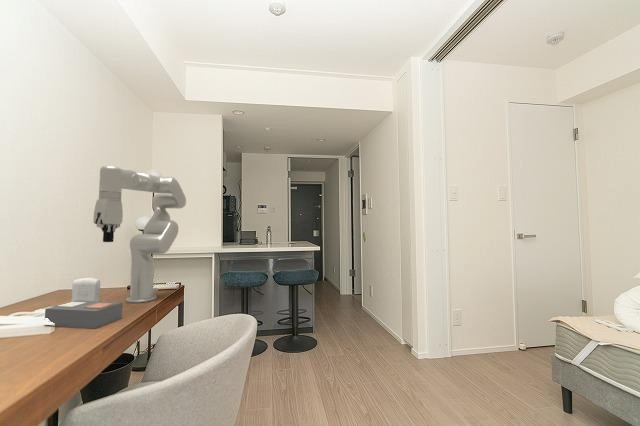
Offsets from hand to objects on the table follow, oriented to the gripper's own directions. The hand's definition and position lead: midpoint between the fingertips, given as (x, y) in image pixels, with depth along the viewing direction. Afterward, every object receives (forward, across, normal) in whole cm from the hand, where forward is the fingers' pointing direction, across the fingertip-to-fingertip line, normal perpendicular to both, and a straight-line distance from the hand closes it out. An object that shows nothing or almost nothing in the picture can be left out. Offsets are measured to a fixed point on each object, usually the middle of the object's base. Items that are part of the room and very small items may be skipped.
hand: (108, 241), depth 120 cm
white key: (+27, +9, -5) cm, 29 cm away
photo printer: (+29, -10, -18) cm, 36 cm away
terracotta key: (+27, +9, +6) cm, 29 cm away
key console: (+29, +9, 0) cm, 30 cm away
